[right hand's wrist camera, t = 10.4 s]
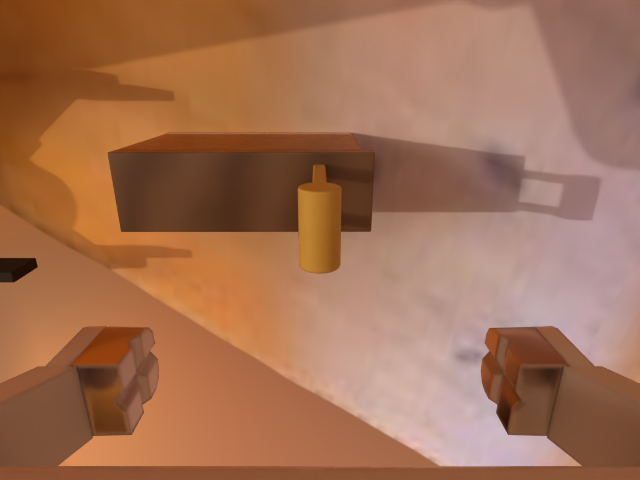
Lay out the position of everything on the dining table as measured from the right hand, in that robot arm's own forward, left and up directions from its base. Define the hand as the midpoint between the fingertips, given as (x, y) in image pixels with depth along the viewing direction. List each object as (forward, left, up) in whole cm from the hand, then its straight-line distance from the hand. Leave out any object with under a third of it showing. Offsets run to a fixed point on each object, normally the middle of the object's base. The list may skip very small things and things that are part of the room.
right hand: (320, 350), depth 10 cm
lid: (+2, +4, -17) cm, 17 cm away
